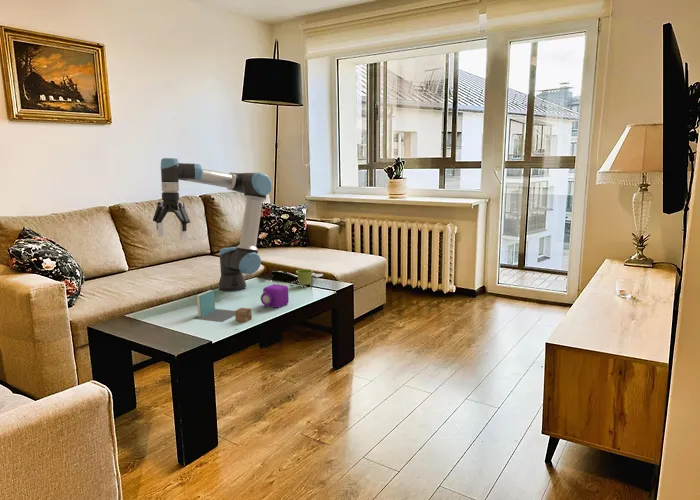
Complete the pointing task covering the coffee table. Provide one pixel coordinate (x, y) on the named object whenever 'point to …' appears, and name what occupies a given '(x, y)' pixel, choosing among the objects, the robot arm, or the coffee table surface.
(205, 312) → the tile
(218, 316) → the mat
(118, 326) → the coffee table surface
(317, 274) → the paint knife
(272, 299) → the toy camera
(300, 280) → the plant pot
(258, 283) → the coffee table surface
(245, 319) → the block
